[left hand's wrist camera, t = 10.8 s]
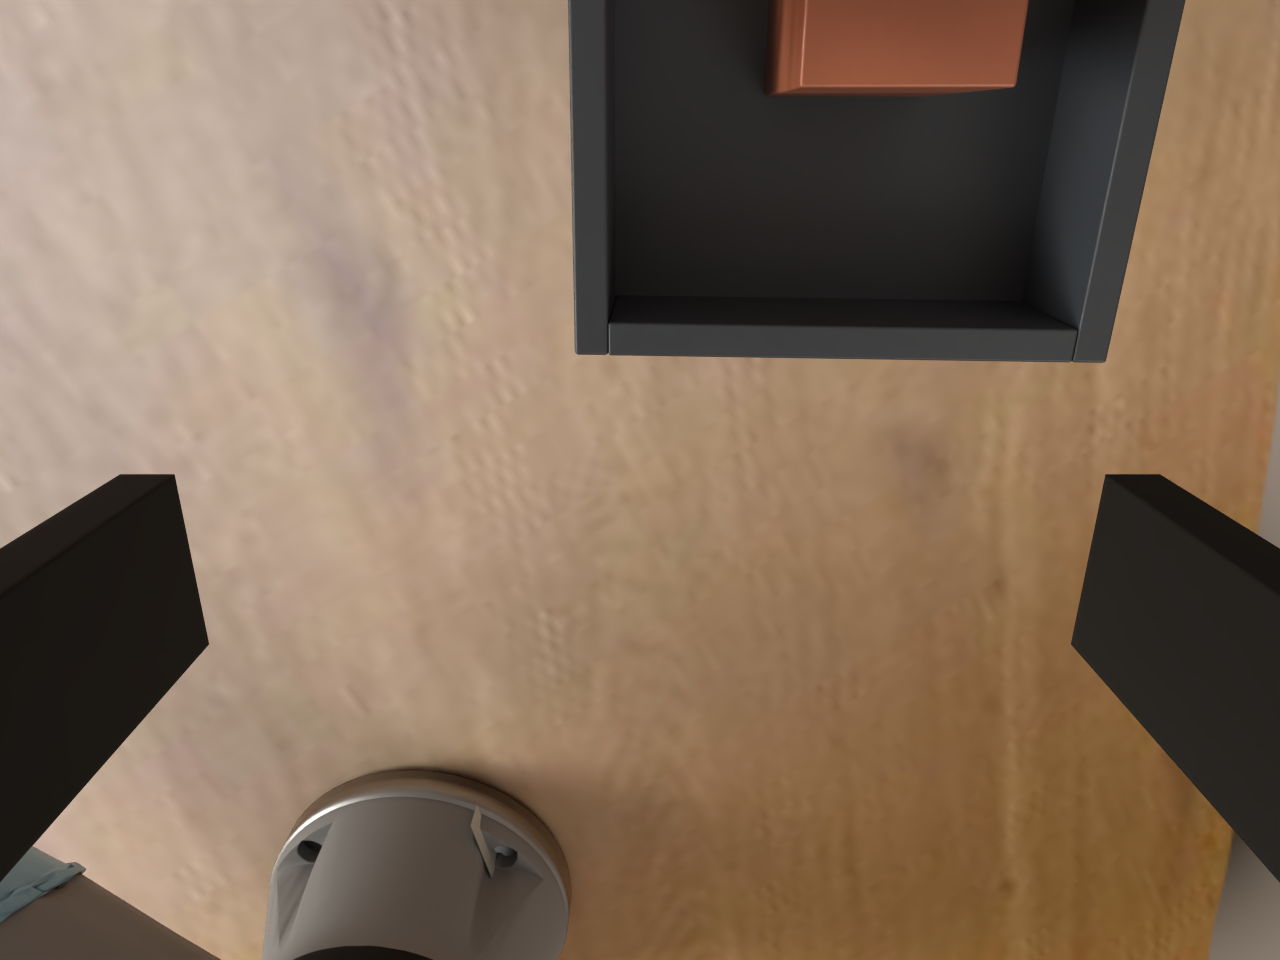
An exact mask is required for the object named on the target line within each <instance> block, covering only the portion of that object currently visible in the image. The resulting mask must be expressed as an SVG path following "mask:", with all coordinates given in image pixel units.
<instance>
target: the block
mask: <svg viewBox="0 0 1280 960" xmlns="http://www.w3.org/2000/svg"><path fill="white" fill-rule="evenodd" d="M1028 1H1029V0H769V16H768V35H767V55H766V75H765V96H767V97H925V96H934V95H944V94H954V93H964V92H974V91H983V90H993V89H1003V88H1012V87H1014V86H1015V85H1016V81H1017V74H1018V68H1019V61H1020V54H1021V48H1022V41H1023V35H1024V28H1025V21H1026V15H1027V8H1028Z"/></svg>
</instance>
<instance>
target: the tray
mask: <svg viewBox="0 0 1280 960" xmlns="http://www.w3.org/2000/svg"><path fill="white" fill-rule="evenodd" d="M1184 4H1185V0H1029V1H1028V8H1027V15H1026V21H1025V28H1024V35H1023V41H1022V48H1021V54H1020V61H1019V68H1018V74H1017V81H1016V85H1015V86H1014V87H1012V88H1003V89H993V90H983V91H974V92H964V93H954V94H944V95H934V96H925V97H767V96H765V75H766V55H767V35H768V16H769V0H568V12H569V65H570V117H571V170H572V222H573V275H574V327H575V352H576V354H578V355H606V354H608V353H609V355H632V356H697V357H762V358H827V359H892V360H957V361H1022V362H1071V361H1073V362H1092V363H1103V362H1105V361H1106V358H1107V353H1108V349H1109V344H1110V340H1111V335H1112V331H1113V326H1114V322H1115V317H1116V312H1117V308H1118V303H1119V299H1120V294H1121V290H1122V285H1123V281H1124V276H1125V272H1126V267H1127V263H1128V258H1129V254H1130V249H1131V244H1132V240H1133V235H1134V231H1135V226H1136V222H1137V217H1138V213H1139V208H1140V204H1141V199H1142V195H1143V190H1144V186H1145V181H1146V176H1147V172H1148V167H1149V163H1150V158H1151V154H1152V149H1153V145H1154V140H1155V136H1156V131H1157V127H1158V122H1159V118H1160V113H1161V108H1162V104H1163V99H1164V95H1165V90H1166V86H1167V81H1168V77H1169V72H1170V68H1171V63H1172V59H1173V54H1174V50H1175V45H1176V41H1177V36H1178V31H1179V27H1180V22H1181V18H1182V13H1183V9H1184Z"/></svg>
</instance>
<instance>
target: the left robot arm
mask: <svg viewBox="0 0 1280 960" xmlns="http://www.w3.org/2000/svg"><path fill="white" fill-rule="evenodd" d="M208 645H209V642H208V637H207V632H206V627H205V622H204V617H203V612H202V607H201V603H200V598H199V593H198V588H197V583H196V578H195V573H194V568H193V563H192V558H191V553H190V549H189V544H188V539H187V534H186V529H185V524H184V519H183V514H182V509H181V504H180V499H179V495H178V490H177V485H176V480H175V475H174V474H120V475H118V476H117V477H115V478H114V479H112V480H110V481H109V482H107V483H105V484H104V485H102V486H101V487H99V488H97V489H96V490H94V491H93V492H91V493H89V494H88V495H86V496H85V497H83V498H81V499H80V500H78V501H76V502H75V503H73V504H72V505H70V506H68V507H67V508H65V509H64V510H62V511H60V512H59V513H57V514H55V515H54V516H52V517H51V518H49V519H47V520H46V521H44V522H43V523H41V524H39V525H38V526H36V527H34V528H33V529H31V530H30V531H28V532H26V533H25V534H23V535H22V536H20V537H18V538H17V539H15V540H14V541H12V542H10V543H9V544H7V545H5V546H4V547H2V548H1V549H0V960H221V959H219V958H217V957H216V956H214V955H212V954H210V953H209V952H207V951H205V950H204V949H202V948H200V947H199V946H197V945H195V944H194V943H192V942H190V941H188V940H187V939H185V938H183V937H182V936H180V935H178V934H177V933H175V932H173V931H172V930H170V929H169V928H167V927H165V926H164V925H162V924H161V923H159V922H157V921H156V920H154V919H153V918H151V917H149V916H148V915H146V914H145V913H143V912H141V911H140V910H138V909H137V908H135V907H133V906H132V905H130V904H129V903H127V902H125V901H124V900H122V899H121V898H119V897H117V896H116V895H114V894H113V893H111V892H109V891H108V890H106V889H104V888H103V887H101V886H100V885H98V884H96V883H95V882H93V881H92V880H90V879H88V878H87V877H85V876H84V875H82V873H83V872H85V870H86V868H84V867H83V866H82V865H80V864H78V863H76V862H73V863H66V864H65V863H63V862H61V861H60V860H58V859H56V858H54V857H52V856H50V855H48V854H46V853H44V852H43V851H41V850H39V849H37V848H35V847H33V845H34V843H35V842H36V841H37V840H38V839H39V838H40V837H41V835H42V834H43V833H44V832H45V831H46V830H47V829H48V827H49V826H50V825H51V824H52V823H53V822H54V821H55V819H56V818H57V817H58V816H59V815H60V814H61V813H62V811H63V810H64V809H65V808H66V807H67V806H68V805H69V803H70V802H71V801H72V800H73V799H74V798H75V797H76V795H77V794H78V793H79V792H80V791H81V790H82V789H83V787H84V786H85V785H86V784H87V783H88V782H89V781H90V779H91V778H92V777H93V776H94V775H95V774H96V773H97V771H98V770H99V769H100V768H101V767H102V766H103V765H104V763H105V762H106V761H107V760H108V759H109V758H110V757H111V755H112V754H113V753H114V752H115V751H116V750H117V749H118V747H119V746H120V745H121V744H122V743H123V742H124V741H125V739H126V738H127V737H128V736H129V735H130V734H131V733H132V731H133V730H134V729H135V728H136V727H137V726H138V725H139V723H140V722H141V721H142V720H143V719H144V718H145V717H146V716H147V714H148V713H149V712H150V711H151V710H152V709H153V708H154V706H155V705H156V704H157V703H158V702H159V701H160V700H161V698H162V697H163V696H164V695H165V694H166V693H167V692H168V690H169V689H170V688H171V687H172V686H173V685H174V684H175V682H176V681H177V680H178V679H179V678H180V677H181V676H182V674H183V673H184V672H185V671H186V670H187V669H188V668H189V666H190V665H191V664H192V663H193V662H194V661H195V660H196V658H197V657H198V656H199V655H200V654H201V653H202V652H203V650H204V649H205V648H206V647H207V646H208ZM1071 645H1072V646H1073V647H1074V648H1075V649H1076V650H1077V652H1078V653H1079V654H1080V655H1081V656H1082V657H1083V658H1084V660H1085V661H1086V662H1087V663H1088V664H1089V665H1090V666H1091V668H1092V669H1093V670H1094V671H1095V672H1096V673H1097V674H1098V676H1099V677H1100V678H1101V679H1102V680H1103V681H1104V682H1105V684H1106V685H1107V686H1108V687H1109V688H1110V689H1111V690H1112V692H1113V693H1114V694H1115V695H1116V696H1117V697H1118V698H1119V700H1120V701H1121V702H1122V703H1123V704H1124V705H1125V706H1126V708H1127V709H1128V710H1129V711H1130V712H1131V713H1132V714H1133V716H1134V717H1135V718H1136V719H1137V720H1138V721H1139V722H1140V723H1141V725H1142V726H1143V727H1144V728H1145V729H1146V730H1147V731H1148V733H1149V734H1150V735H1151V736H1152V737H1153V738H1154V739H1155V741H1156V742H1157V743H1158V744H1159V745H1160V746H1161V747H1162V749H1163V750H1164V751H1165V752H1166V753H1167V754H1168V755H1169V757H1170V758H1171V759H1172V760H1173V761H1174V762H1175V763H1176V765H1177V766H1178V767H1179V768H1180V769H1181V770H1182V771H1183V773H1184V774H1185V775H1186V776H1187V777H1188V778H1189V779H1190V781H1191V782H1192V783H1193V784H1194V785H1195V786H1196V787H1197V789H1198V790H1199V791H1200V792H1201V793H1202V794H1203V795H1204V797H1205V798H1206V799H1207V800H1208V801H1209V802H1210V803H1211V805H1212V806H1213V807H1214V808H1215V809H1216V810H1217V811H1218V813H1219V814H1220V815H1221V816H1222V817H1223V818H1224V819H1225V821H1226V822H1227V823H1228V824H1229V825H1230V826H1231V827H1232V829H1233V830H1234V831H1235V832H1236V833H1237V834H1238V835H1239V836H1240V838H1241V839H1242V840H1243V841H1244V842H1245V843H1246V845H1247V846H1248V847H1249V848H1250V849H1251V850H1252V851H1253V852H1254V854H1255V855H1256V856H1257V857H1258V858H1259V859H1260V860H1261V862H1262V863H1263V864H1264V865H1265V866H1266V867H1267V868H1268V870H1269V871H1270V872H1271V873H1272V874H1273V875H1274V876H1275V878H1276V879H1277V880H1278V881H1279V882H1280V549H1279V548H1278V547H1276V546H1275V545H1273V544H1271V543H1270V542H1268V541H1266V540H1265V539H1263V538H1262V537H1260V536H1258V535H1257V534H1255V533H1254V532H1252V531H1250V530H1249V529H1247V528H1245V527H1244V526H1242V525H1241V524H1239V523H1237V522H1236V521H1234V520H1233V519H1231V518H1229V517H1228V516H1226V515H1225V514H1223V513H1221V512H1220V511H1218V510H1216V509H1215V508H1213V507H1212V506H1210V505H1208V504H1207V503H1205V502H1204V501H1202V500H1200V499H1199V498H1197V497H1195V496H1194V495H1192V494H1191V493H1189V492H1187V491H1186V490H1184V489H1183V488H1181V487H1179V486H1178V485H1176V484H1175V483H1173V482H1171V481H1170V480H1168V479H1166V478H1165V477H1163V476H1162V475H1160V474H1106V475H1105V480H1104V485H1103V490H1102V494H1101V499H1100V504H1099V509H1098V514H1097V519H1096V524H1095V529H1094V534H1093V539H1092V544H1091V548H1090V553H1089V558H1088V563H1087V568H1086V573H1085V578H1084V583H1083V588H1082V593H1081V598H1080V602H1079V607H1078V612H1077V617H1076V622H1075V627H1074V632H1073V637H1072V642H1071ZM570 903H571V879H570V874H569V870H568V866H567V863H566V860H565V858H564V855H563V853H562V851H561V849H560V847H559V846H558V844H557V842H556V841H555V839H554V838H553V836H552V835H551V834H550V832H549V831H548V830H547V829H546V827H545V826H544V825H543V824H542V823H541V822H540V821H539V820H538V819H537V818H536V817H535V816H534V815H533V814H532V813H530V812H529V811H528V810H527V809H526V808H524V807H523V806H522V805H520V804H519V803H517V802H516V801H515V800H513V799H511V798H510V797H508V796H506V795H505V794H503V793H501V792H499V791H497V790H495V789H493V788H491V787H489V786H486V785H484V784H481V783H479V782H476V781H473V780H470V779H467V778H463V777H460V776H456V775H451V774H447V773H440V772H433V771H422V770H398V771H388V772H381V773H376V774H371V775H367V776H363V777H360V778H357V779H354V780H351V781H349V782H346V783H344V784H342V785H340V786H338V787H336V788H334V789H332V790H330V791H329V792H327V793H326V794H324V795H323V796H321V797H320V798H319V799H317V800H316V801H315V802H314V803H313V804H312V805H311V806H310V807H309V808H308V809H307V810H306V811H305V812H304V813H303V814H302V815H301V817H300V818H299V819H298V821H297V823H296V824H295V826H294V828H293V829H292V831H291V833H290V835H289V837H288V839H287V841H286V842H285V844H284V846H283V848H282V850H281V852H280V854H279V856H278V858H277V860H276V863H275V865H274V868H273V872H272V875H271V882H270V892H269V900H268V909H267V917H266V925H265V934H264V942H263V951H262V959H261V960H557V959H558V957H559V955H560V953H561V950H562V948H563V945H564V942H565V939H566V934H567V928H568V920H569V912H570Z"/></svg>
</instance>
